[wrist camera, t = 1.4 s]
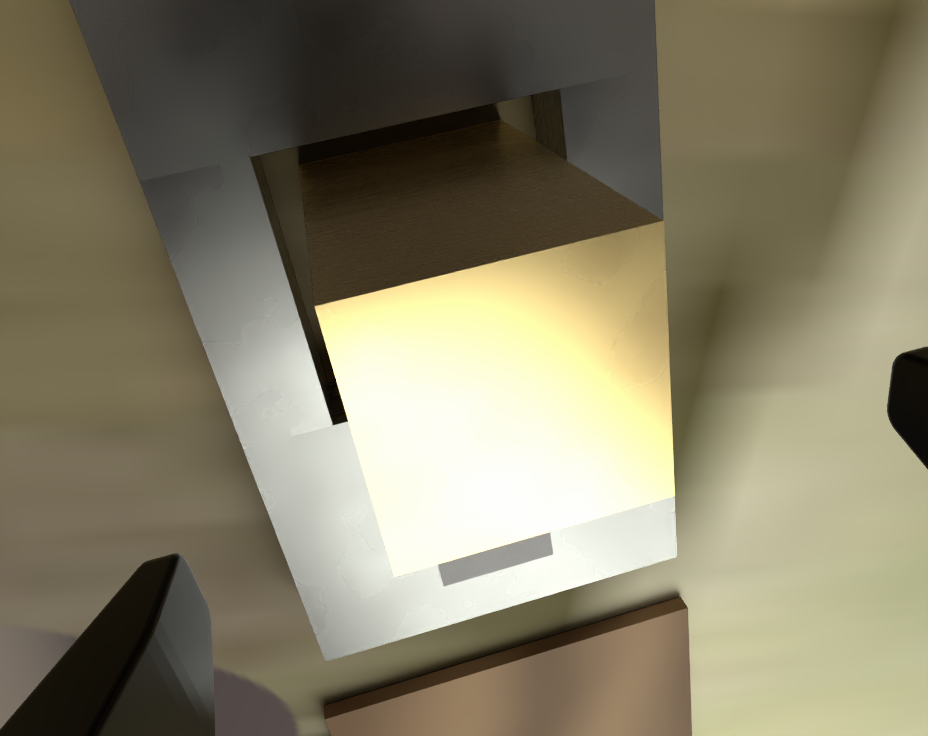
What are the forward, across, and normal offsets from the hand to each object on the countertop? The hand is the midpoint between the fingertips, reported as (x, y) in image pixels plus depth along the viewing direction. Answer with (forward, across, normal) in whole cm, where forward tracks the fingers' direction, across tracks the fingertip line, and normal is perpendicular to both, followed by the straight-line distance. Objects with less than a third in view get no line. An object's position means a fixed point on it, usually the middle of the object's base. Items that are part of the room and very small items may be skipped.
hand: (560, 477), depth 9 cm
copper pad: (+10, 0, +20) cm, 22 cm away
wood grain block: (+10, 0, 0) cm, 10 cm away
